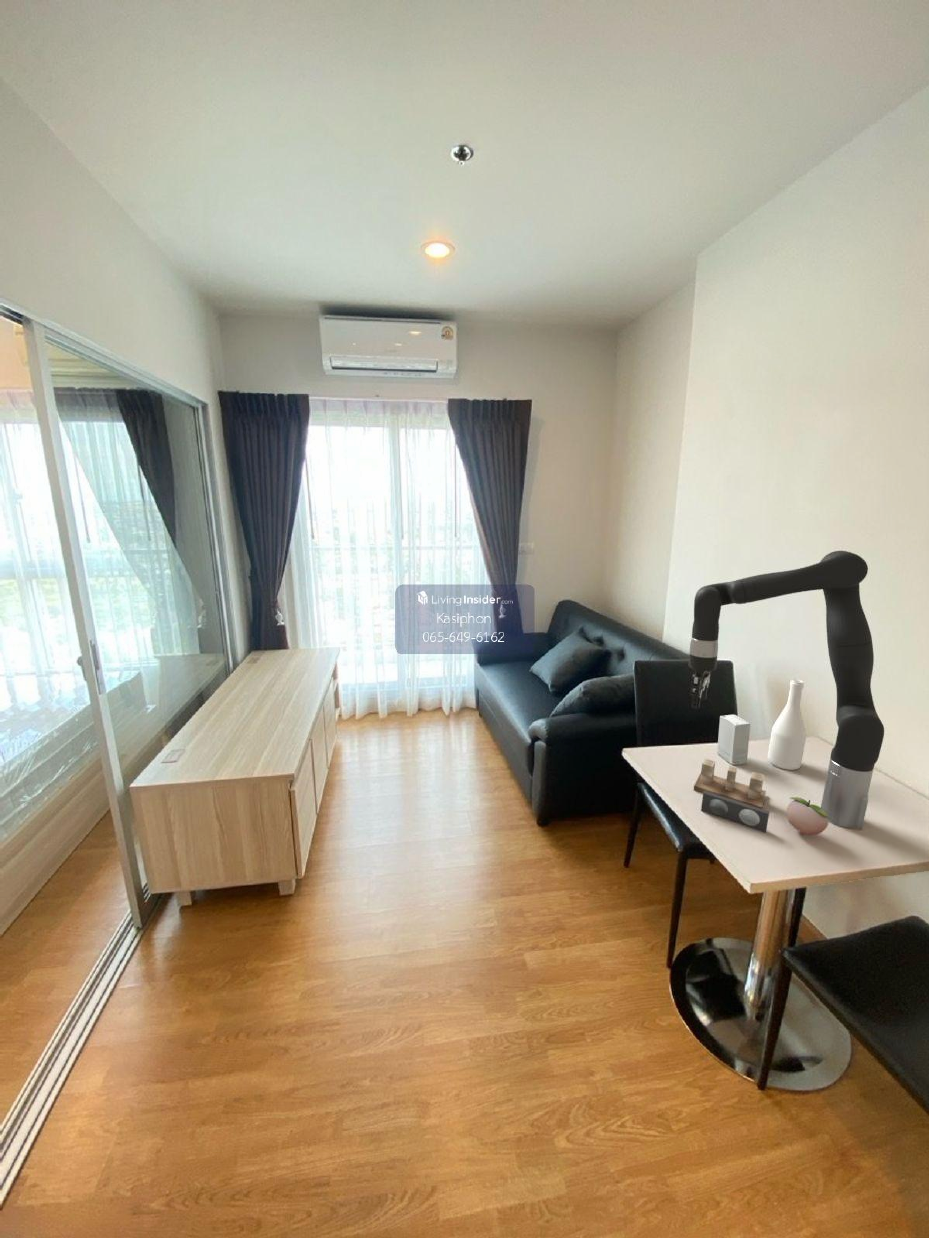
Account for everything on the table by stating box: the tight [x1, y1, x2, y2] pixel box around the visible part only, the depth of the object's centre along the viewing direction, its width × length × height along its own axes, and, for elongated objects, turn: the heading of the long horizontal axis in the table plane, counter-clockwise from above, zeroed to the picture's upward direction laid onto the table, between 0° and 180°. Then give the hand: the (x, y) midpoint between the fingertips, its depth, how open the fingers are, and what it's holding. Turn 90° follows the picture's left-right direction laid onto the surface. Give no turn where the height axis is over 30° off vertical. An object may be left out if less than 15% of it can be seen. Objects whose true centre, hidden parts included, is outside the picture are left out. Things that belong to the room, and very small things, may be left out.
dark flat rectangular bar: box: [700, 791, 770, 834], centre depth 132 cm, size 16×2×6 cm, turn 53°
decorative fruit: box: [785, 796, 829, 836], centre depth 125 cm, size 9×8×10 cm
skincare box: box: [716, 714, 751, 765], centre depth 163 cm, size 8×6×15 cm
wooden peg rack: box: [693, 758, 767, 809], centre depth 144 cm, size 18×10×8 cm, turn 53°
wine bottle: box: [767, 678, 807, 771], centre depth 157 cm, size 10×10×30 cm
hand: (698, 703), depth 145 cm, fingers open, 8 cm apart
